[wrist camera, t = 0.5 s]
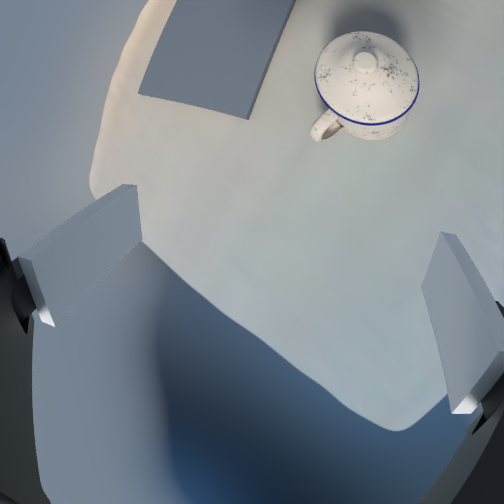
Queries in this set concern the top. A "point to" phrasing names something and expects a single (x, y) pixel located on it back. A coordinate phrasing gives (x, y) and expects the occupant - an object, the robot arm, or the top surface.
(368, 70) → the teacup with lid
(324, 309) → the top surface
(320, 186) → the top surface
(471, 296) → the robot arm
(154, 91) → the charcoal mat
